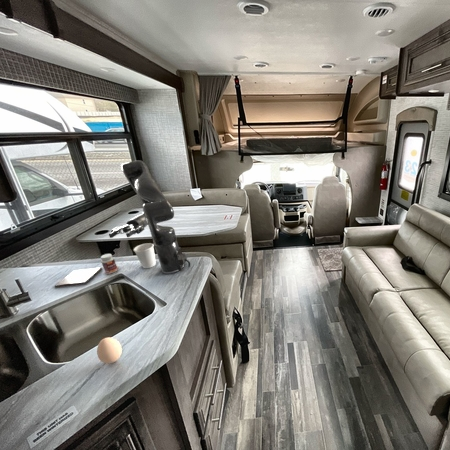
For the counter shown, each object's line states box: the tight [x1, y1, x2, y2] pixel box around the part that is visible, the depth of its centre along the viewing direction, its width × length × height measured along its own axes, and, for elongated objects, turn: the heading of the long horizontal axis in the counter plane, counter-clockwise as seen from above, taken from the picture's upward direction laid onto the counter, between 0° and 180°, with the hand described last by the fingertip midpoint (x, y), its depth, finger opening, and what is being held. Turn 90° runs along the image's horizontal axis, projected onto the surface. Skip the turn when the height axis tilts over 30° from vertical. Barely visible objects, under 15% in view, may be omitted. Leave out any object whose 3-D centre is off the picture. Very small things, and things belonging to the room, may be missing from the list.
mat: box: [53, 267, 103, 288], centre depth 110 cm, size 12×12×1 cm
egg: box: [96, 337, 123, 364], centre depth 68 cm, size 5×5×8 cm
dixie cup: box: [133, 242, 157, 269], centre depth 117 cm, size 8×8×10 cm
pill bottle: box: [100, 253, 118, 275], centre depth 113 cm, size 5×5×8 cm
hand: (118, 235), depth 120 cm, fingers open, 8 cm apart
